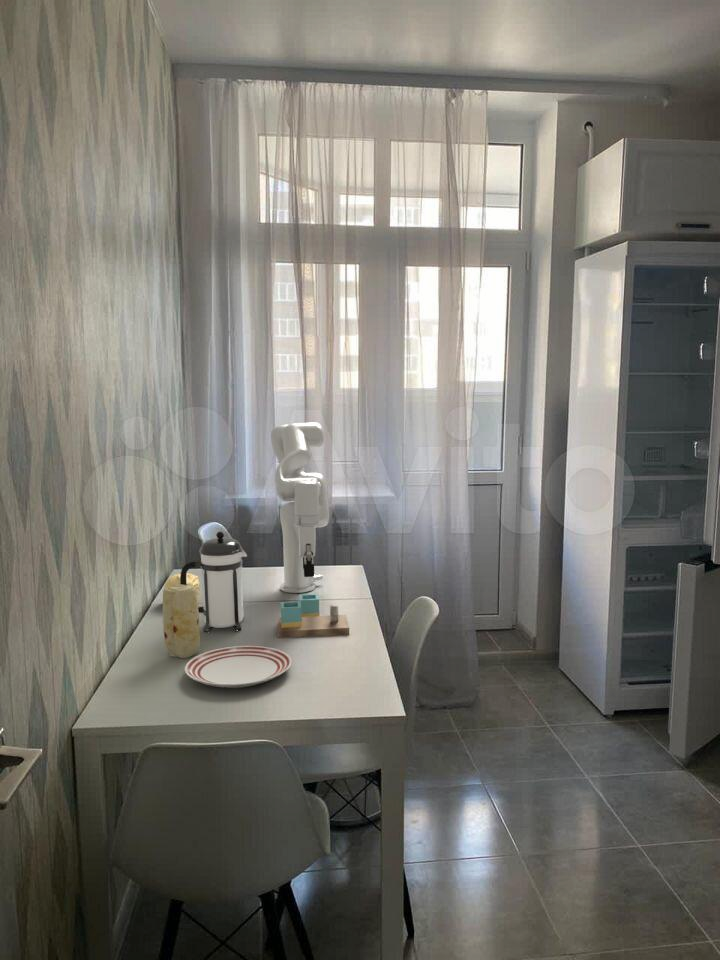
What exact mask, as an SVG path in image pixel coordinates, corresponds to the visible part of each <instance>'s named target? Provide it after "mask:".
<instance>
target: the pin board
mask: <svg viewBox="0 0 720 960" xmlns="http://www.w3.org/2000/svg"><path fill="white" fill-rule="evenodd" d="M329 611H330V612H329V615H319V616H310V617H301V620H302V627H286V628H282V626H281V617H278V618H277V630H278V631H277V633H278V634H277V636H278V638H279V639H282V638H283V639H285V638H297V637H298V638H299V637H300V638H302V636H304V637H319V636H320V637H321V636H323V637H325V636H338V635H341V636H342V634H343V635H350V625H349V622H348V618H347V614H339V606H338V604H330V606H329Z"/></svg>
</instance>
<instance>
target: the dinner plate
mask: <svg viewBox="0 0 720 960" xmlns="http://www.w3.org/2000/svg"><path fill="white" fill-rule="evenodd" d="M291 665H292V658H291V657H290V655H289V654H287V653H286V652H284V651H282V650H280V649H277V648H273V647H267V646H262V645H261V646H259V645H237V646H236V645H235V646H229V647H227V646H226V647H222V648H220V647H219V648H217V649H211V650H208V651H205V652H202V653H200V654H198V655H196V656H193V658H191V659H190V660H189V661H187V663H186V664H185V666H184V672H185V674H186V675H187V677H189V678H190V679H191V680H193V681H196V682H198V683H200V684H204V685H206V686H212V687H217V688H218V687H219V688H224V687H227V688H226V689H239V688H247V687H252V686H256V685H258V684H259V685H260V684H264V683H266V682H268V681H271V680H273V679H275V678H277V677H279V676H280V675H282V674H283V673H285V672H286V671H287V670H288V669H290V667H291Z"/></svg>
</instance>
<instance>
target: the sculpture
mask: <svg viewBox="0 0 720 960" xmlns="http://www.w3.org/2000/svg"><path fill="white" fill-rule="evenodd" d="M180 575H181V572H180V573H176V574H174V575H172V576H170V577H168V578H167V580H166V582H165V583H164V586H163V587H164V588H163V590H164V589H165V588H167V587H169V586H172V585H177V584H180ZM186 581H187V585H190V586H193V587H195V588H196V593H197V599H198V598H199V596H200V589H201V587H200V585H201V583H200V579H199V576H198V575H195V574H192V573H189V572H187V574H186Z"/></svg>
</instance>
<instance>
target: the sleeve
mask: <svg viewBox="0 0 720 960" xmlns="http://www.w3.org/2000/svg"><path fill="white" fill-rule="evenodd" d="M299 601H301V617H310V616H320V598H319V593H310V594H309V593H308V594H299Z"/></svg>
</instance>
